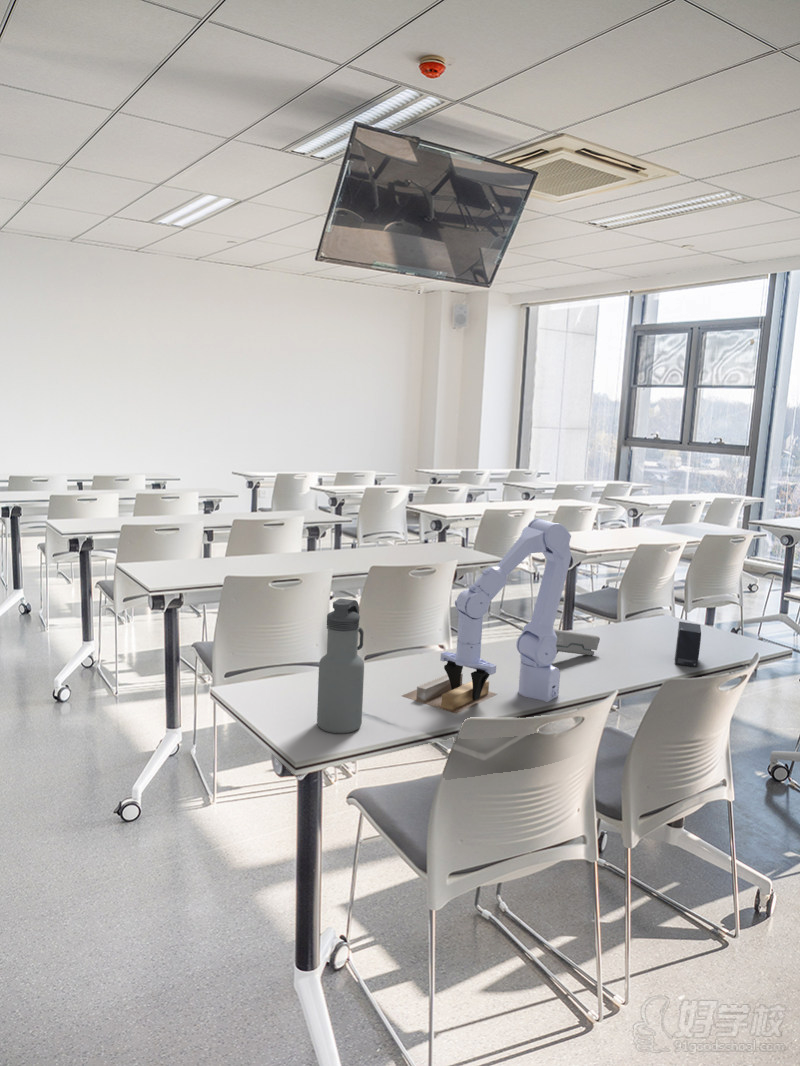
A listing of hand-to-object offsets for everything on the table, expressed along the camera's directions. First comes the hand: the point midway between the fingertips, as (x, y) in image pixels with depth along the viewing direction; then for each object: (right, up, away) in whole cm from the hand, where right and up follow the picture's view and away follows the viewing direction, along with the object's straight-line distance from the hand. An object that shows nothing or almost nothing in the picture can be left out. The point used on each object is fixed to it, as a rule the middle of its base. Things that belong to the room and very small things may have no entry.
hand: (465, 695), depth 194 cm
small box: (+68, +1, +44) cm, 81 cm away
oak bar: (0, -1, 0) cm, 1 cm away
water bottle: (-29, -3, -17) cm, 33 cm away
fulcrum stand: (-4, -1, +3) cm, 5 cm away
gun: (+32, +2, +40) cm, 51 cm away
